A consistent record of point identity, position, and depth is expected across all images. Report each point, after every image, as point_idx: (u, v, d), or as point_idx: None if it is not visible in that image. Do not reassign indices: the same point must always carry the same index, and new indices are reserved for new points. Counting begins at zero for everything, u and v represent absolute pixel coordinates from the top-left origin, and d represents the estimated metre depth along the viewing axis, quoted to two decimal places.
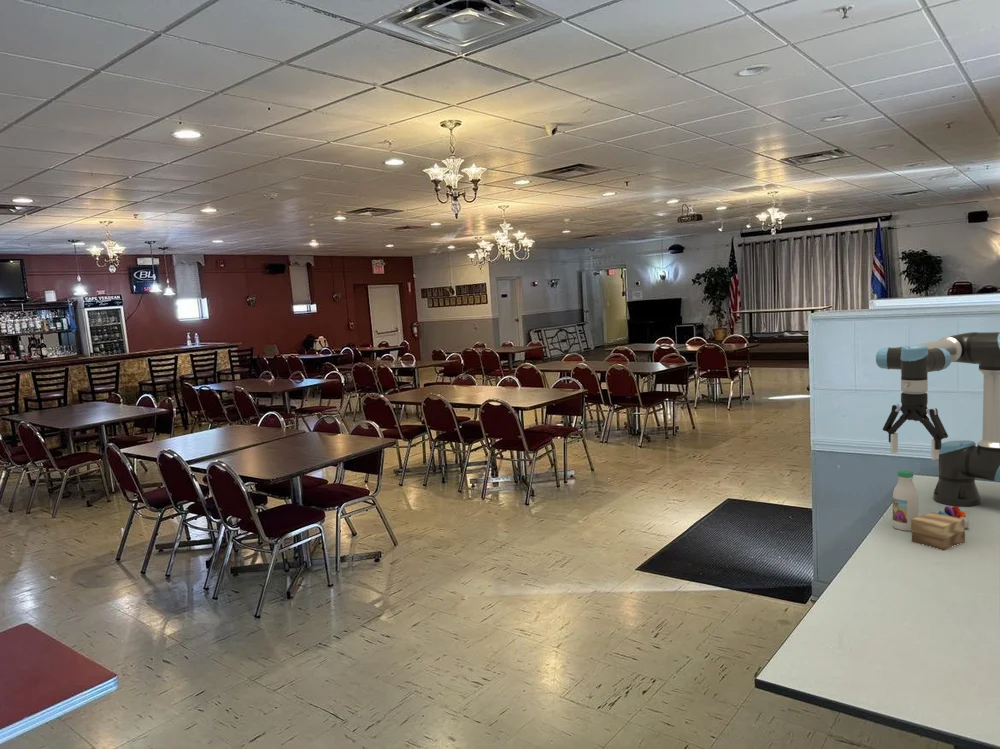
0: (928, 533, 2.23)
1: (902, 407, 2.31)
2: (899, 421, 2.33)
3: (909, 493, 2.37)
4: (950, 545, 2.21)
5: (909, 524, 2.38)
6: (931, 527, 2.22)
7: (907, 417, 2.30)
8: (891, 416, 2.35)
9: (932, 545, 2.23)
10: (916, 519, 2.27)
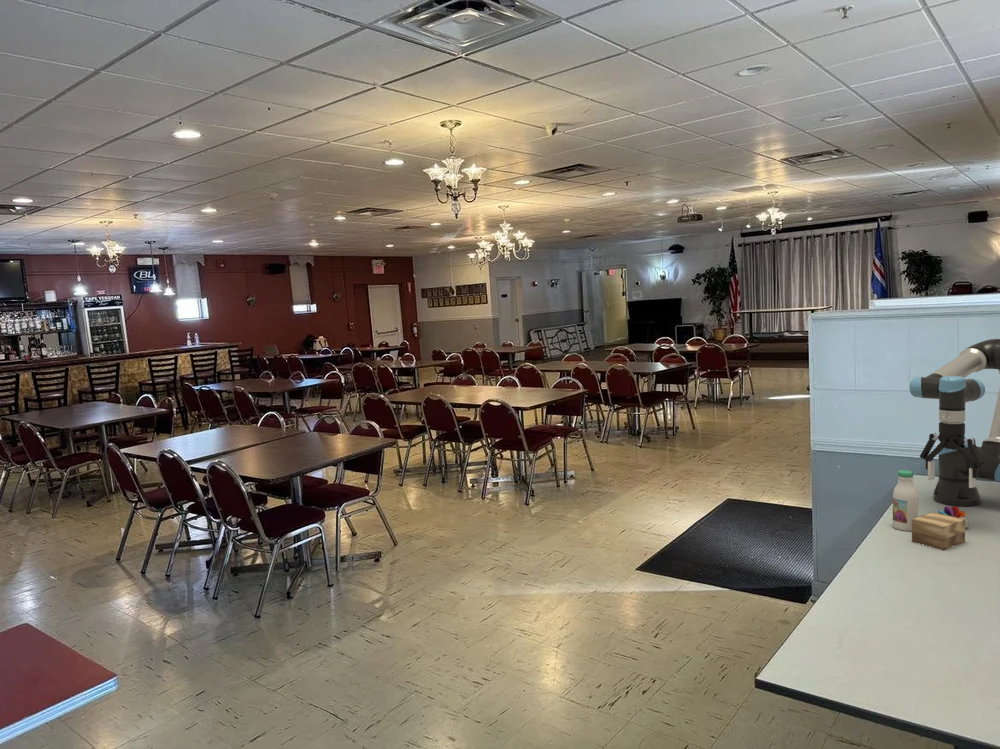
0: (929, 533, 2.23)
1: (940, 436, 2.40)
2: (936, 449, 2.41)
3: (909, 493, 2.37)
4: (950, 545, 2.21)
5: (909, 524, 2.38)
6: (932, 527, 2.22)
7: (945, 446, 2.39)
8: (928, 444, 2.43)
9: (932, 545, 2.22)
10: (917, 519, 2.27)
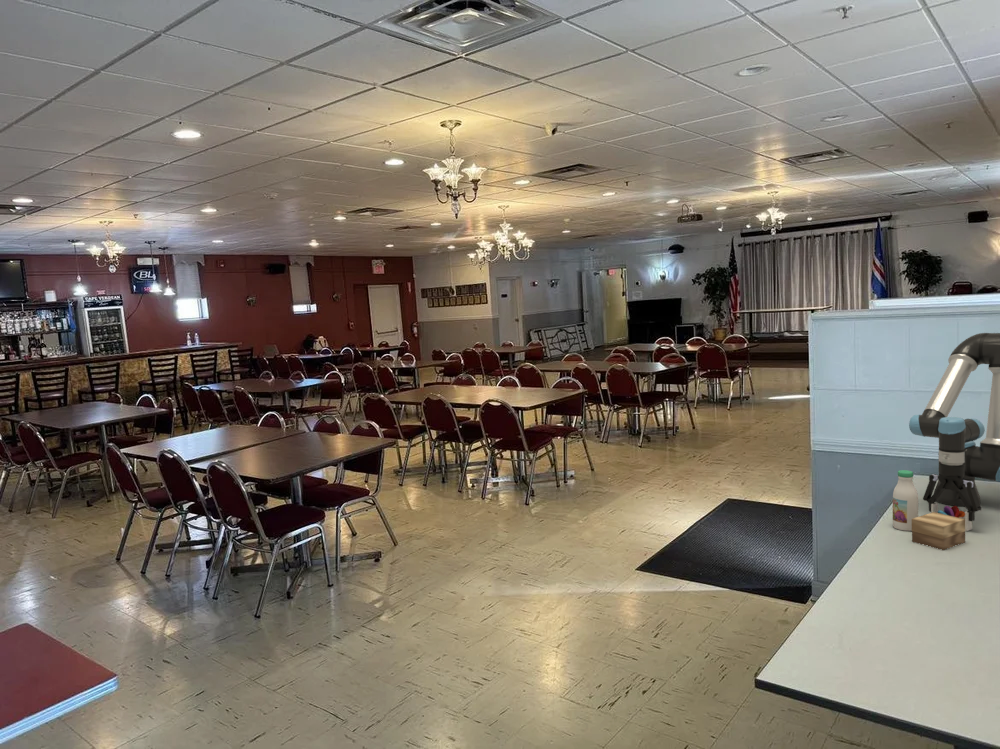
0: (928, 533, 2.23)
1: (939, 476, 2.41)
2: (938, 491, 2.42)
3: (909, 493, 2.37)
4: (950, 545, 2.21)
5: (909, 524, 2.38)
6: (932, 526, 2.22)
7: (944, 486, 2.40)
8: (930, 486, 2.44)
9: (932, 545, 2.22)
10: (917, 519, 2.27)
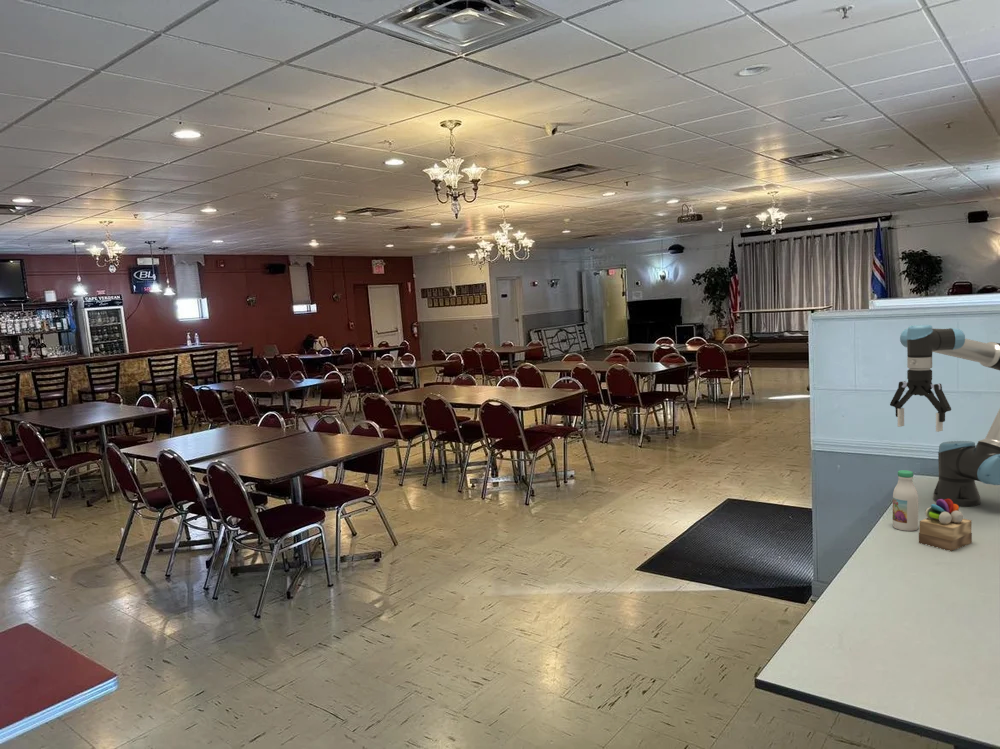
0: (937, 535, 2.21)
1: (908, 383, 2.48)
2: (905, 396, 2.49)
3: (909, 493, 2.37)
4: (958, 546, 2.20)
5: (909, 524, 2.38)
6: (941, 528, 2.20)
7: (913, 392, 2.47)
8: (898, 392, 2.51)
9: (940, 547, 2.21)
10: (925, 521, 2.25)
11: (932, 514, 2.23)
